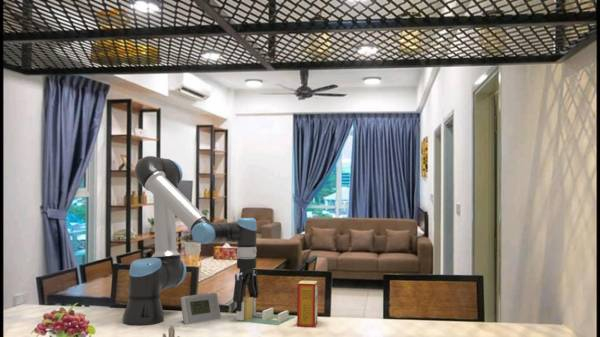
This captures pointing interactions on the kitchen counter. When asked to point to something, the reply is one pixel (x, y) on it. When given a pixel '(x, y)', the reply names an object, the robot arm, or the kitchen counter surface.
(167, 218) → the robot arm
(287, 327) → the kitchen counter surface
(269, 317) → the board
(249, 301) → the tan yellow block
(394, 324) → the kitchen counter surface
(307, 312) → the baking soda box
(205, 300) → the digital clock
